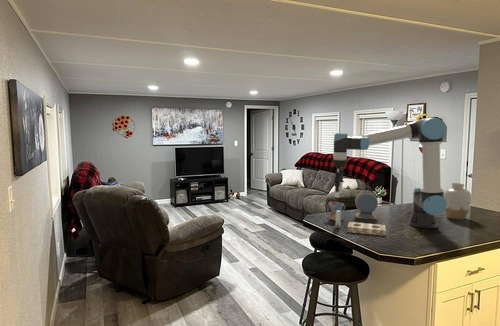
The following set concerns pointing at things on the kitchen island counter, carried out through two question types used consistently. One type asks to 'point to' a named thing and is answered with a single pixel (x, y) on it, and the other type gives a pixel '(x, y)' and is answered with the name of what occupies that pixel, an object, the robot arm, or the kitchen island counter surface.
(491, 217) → the kitchen island counter surface
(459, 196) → the vase
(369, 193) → the alarm clock
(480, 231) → the kitchen island counter surface
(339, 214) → the peg
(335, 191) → the robot arm
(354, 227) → the hole block
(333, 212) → the mug
